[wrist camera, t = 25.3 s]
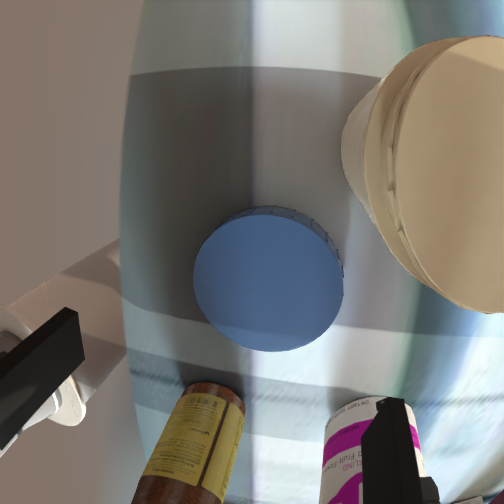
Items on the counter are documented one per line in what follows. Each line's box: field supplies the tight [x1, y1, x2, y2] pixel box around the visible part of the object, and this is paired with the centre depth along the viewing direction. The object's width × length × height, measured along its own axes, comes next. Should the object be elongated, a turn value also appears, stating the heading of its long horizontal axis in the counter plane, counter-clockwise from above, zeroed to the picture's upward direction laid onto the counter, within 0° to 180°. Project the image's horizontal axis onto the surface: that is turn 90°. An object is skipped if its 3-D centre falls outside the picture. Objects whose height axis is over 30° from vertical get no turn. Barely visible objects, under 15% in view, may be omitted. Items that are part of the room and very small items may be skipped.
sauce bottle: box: [131, 382, 245, 504], centre depth 18 cm, size 6×6×20 cm
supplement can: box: [319, 396, 426, 504], centre depth 18 cm, size 8×8×15 cm
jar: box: [341, 35, 504, 314], centre depth 11 cm, size 9×9×12 cm
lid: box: [193, 206, 344, 352], centre depth 20 cm, size 10×10×2 cm
